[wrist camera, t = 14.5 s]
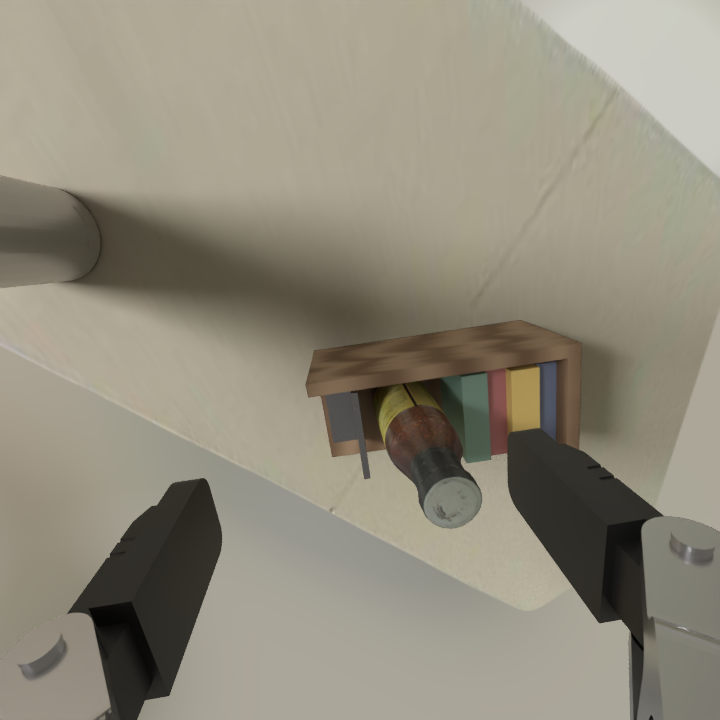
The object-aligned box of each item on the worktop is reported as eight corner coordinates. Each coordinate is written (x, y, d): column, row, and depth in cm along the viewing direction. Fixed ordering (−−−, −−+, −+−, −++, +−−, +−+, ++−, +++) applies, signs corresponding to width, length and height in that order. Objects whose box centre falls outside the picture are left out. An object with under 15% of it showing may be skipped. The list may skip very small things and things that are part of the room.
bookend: (333, 441, 45) (332, 484, 37) (321, 370, 42) (316, 398, 34) (364, 437, 45) (370, 478, 37) (353, 365, 42) (357, 392, 34)
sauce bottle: (372, 422, 44) (396, 549, 25) (370, 371, 43) (394, 467, 24) (427, 418, 45) (493, 542, 26) (427, 367, 43) (497, 460, 24)
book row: (443, 425, 45) (468, 466, 36) (437, 353, 42) (462, 378, 34) (518, 413, 45) (560, 452, 36) (516, 341, 43) (561, 363, 34)
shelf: (332, 450, 47) (330, 512, 36) (314, 350, 43) (305, 384, 32) (522, 422, 47) (578, 473, 36) (520, 320, 43) (581, 343, 32)
